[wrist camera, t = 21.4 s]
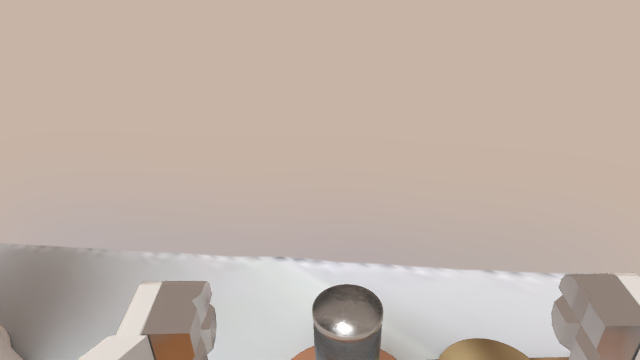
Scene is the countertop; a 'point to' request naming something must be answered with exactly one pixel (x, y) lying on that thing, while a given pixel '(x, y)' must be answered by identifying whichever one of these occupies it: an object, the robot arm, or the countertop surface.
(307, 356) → the dish
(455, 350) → the balance
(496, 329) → the countertop surface
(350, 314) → the brushed steel peg
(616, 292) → the robot arm
